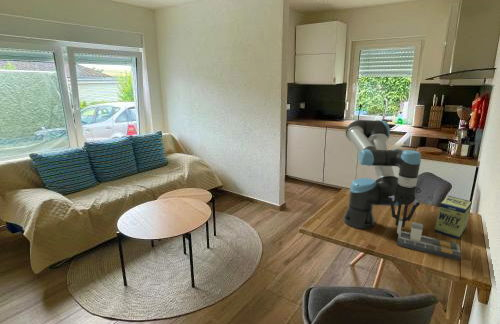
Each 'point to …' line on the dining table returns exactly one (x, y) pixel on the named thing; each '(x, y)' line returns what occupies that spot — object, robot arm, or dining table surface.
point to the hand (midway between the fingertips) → (398, 232)
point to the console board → (430, 245)
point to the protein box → (453, 217)
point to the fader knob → (416, 231)
